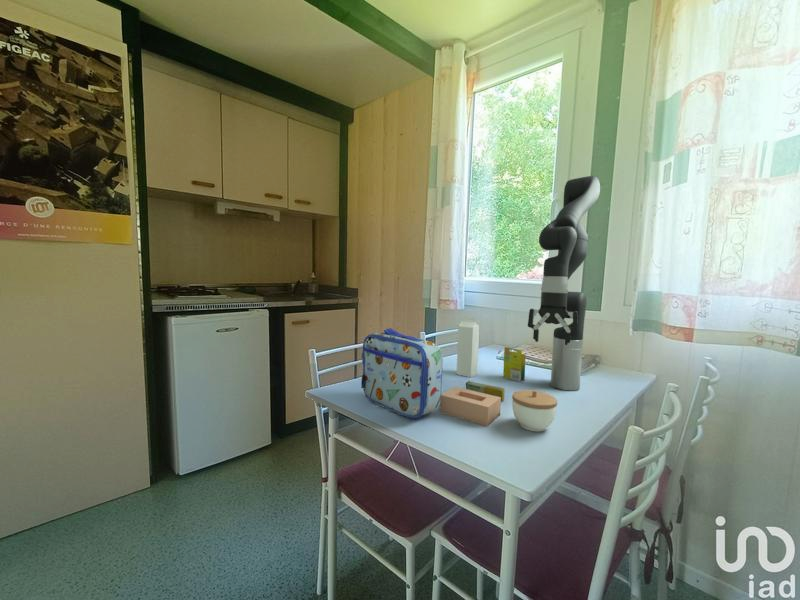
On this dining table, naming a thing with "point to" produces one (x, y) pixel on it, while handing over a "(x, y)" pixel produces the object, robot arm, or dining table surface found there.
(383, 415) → the dining table surface
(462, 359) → the milk
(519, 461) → the dining table surface
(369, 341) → the lunch box
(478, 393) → the beige slotted holder
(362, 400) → the dining table surface
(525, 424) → the lidded jar
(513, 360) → the crayon box
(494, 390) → the medication box
